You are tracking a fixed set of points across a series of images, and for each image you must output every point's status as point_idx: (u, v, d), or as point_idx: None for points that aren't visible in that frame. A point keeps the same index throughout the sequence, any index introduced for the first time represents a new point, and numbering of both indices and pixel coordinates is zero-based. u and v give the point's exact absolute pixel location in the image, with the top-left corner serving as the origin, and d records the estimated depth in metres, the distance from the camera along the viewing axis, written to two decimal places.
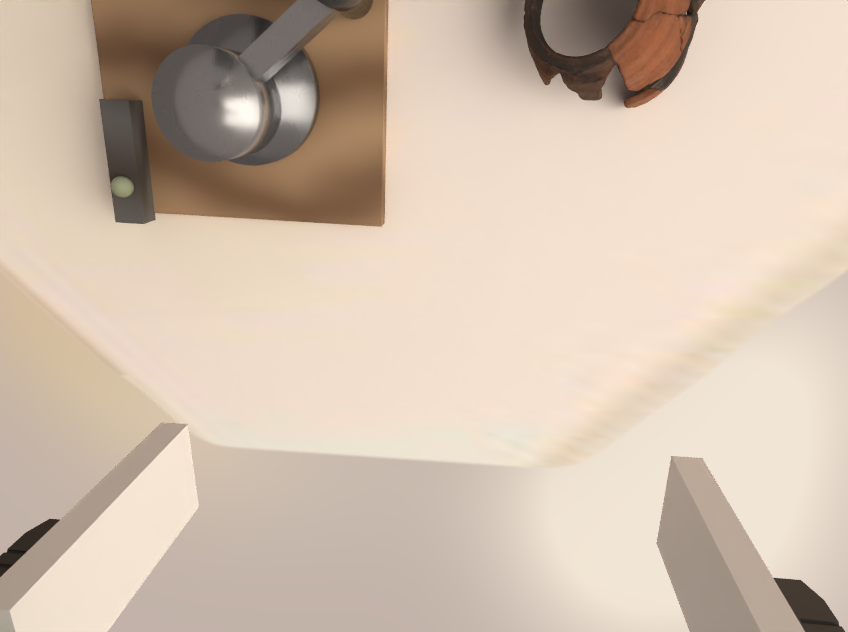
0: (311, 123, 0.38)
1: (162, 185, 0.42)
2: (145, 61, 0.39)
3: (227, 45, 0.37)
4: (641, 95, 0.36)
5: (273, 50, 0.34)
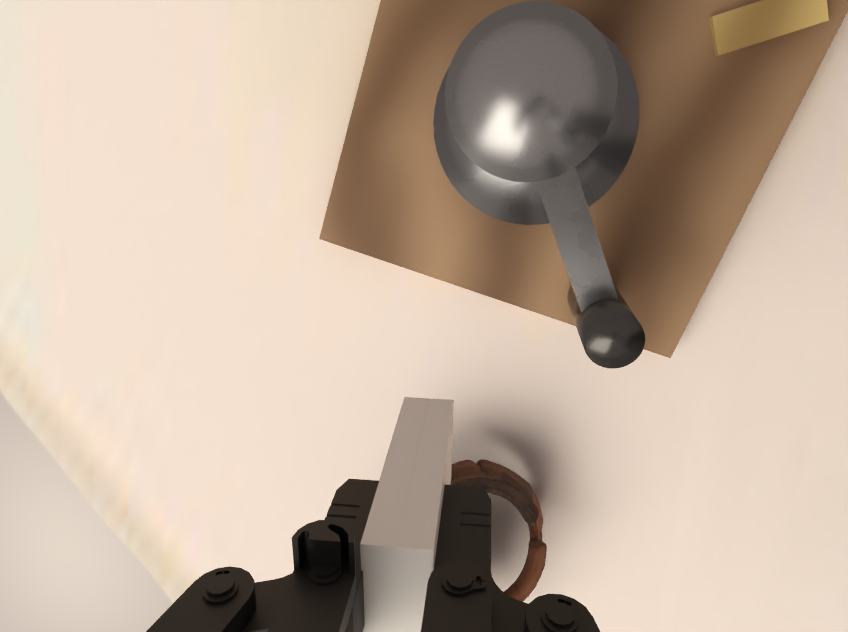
0: (467, 200, 0.28)
1: None
2: None
3: None
4: None
5: (564, 219, 0.25)
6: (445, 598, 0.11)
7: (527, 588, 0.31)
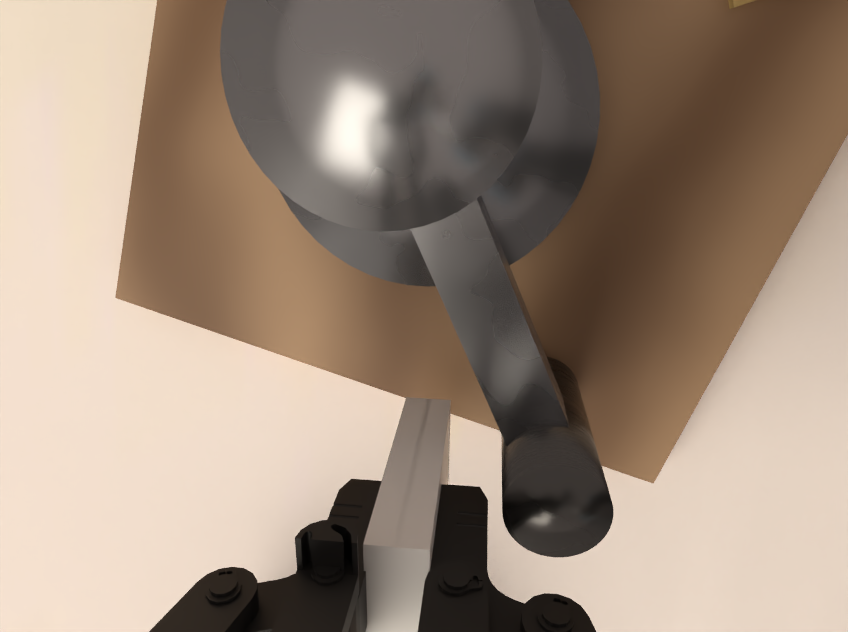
0: None
1: None
2: None
3: (535, 114, 0.16)
4: None
5: (465, 293, 0.14)
6: (442, 598, 0.11)
7: None
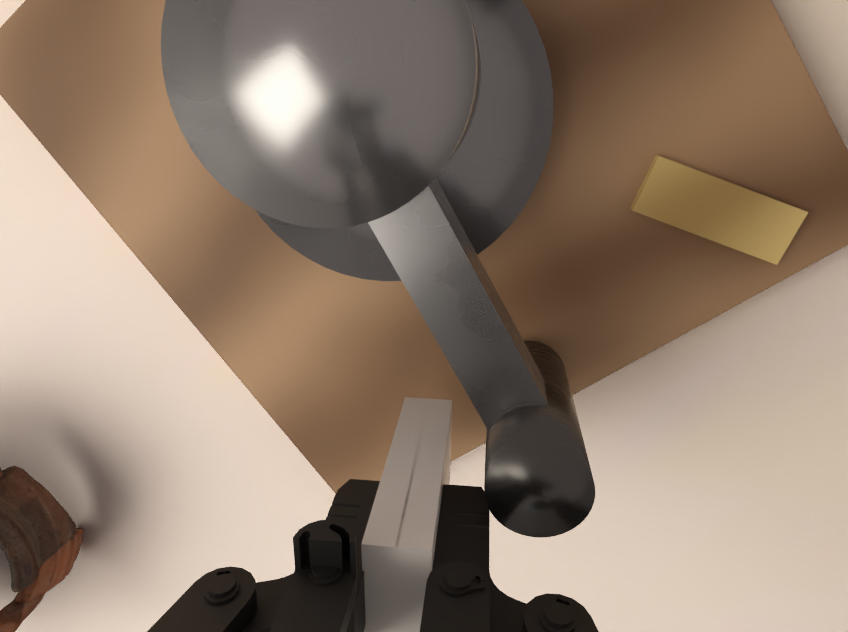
0: None
1: None
2: (612, 7, 0.16)
3: (489, 98, 0.16)
4: None
5: (429, 282, 0.14)
6: (444, 598, 0.11)
7: None
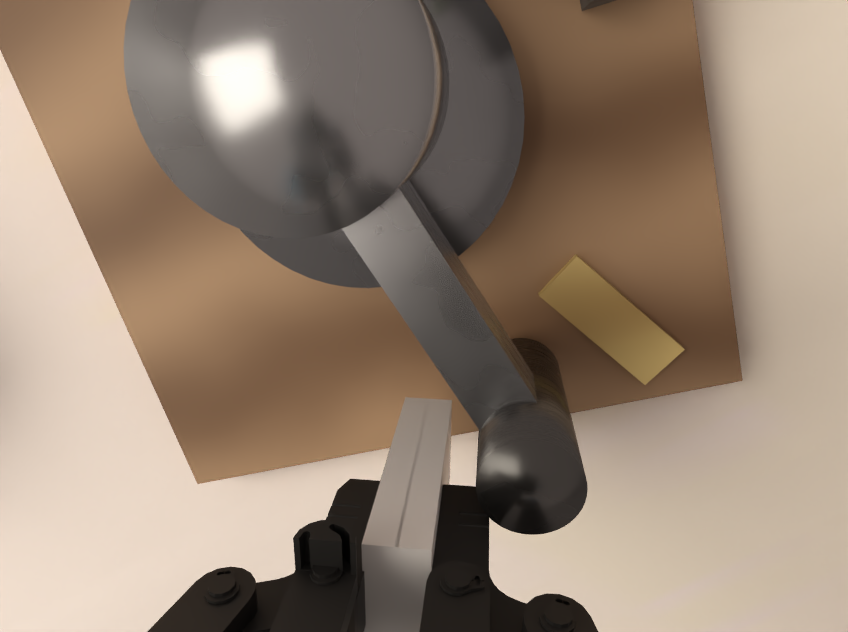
0: None
1: None
2: (580, 111, 0.17)
3: (459, 99, 0.16)
4: None
5: (408, 284, 0.14)
6: (444, 598, 0.11)
7: None
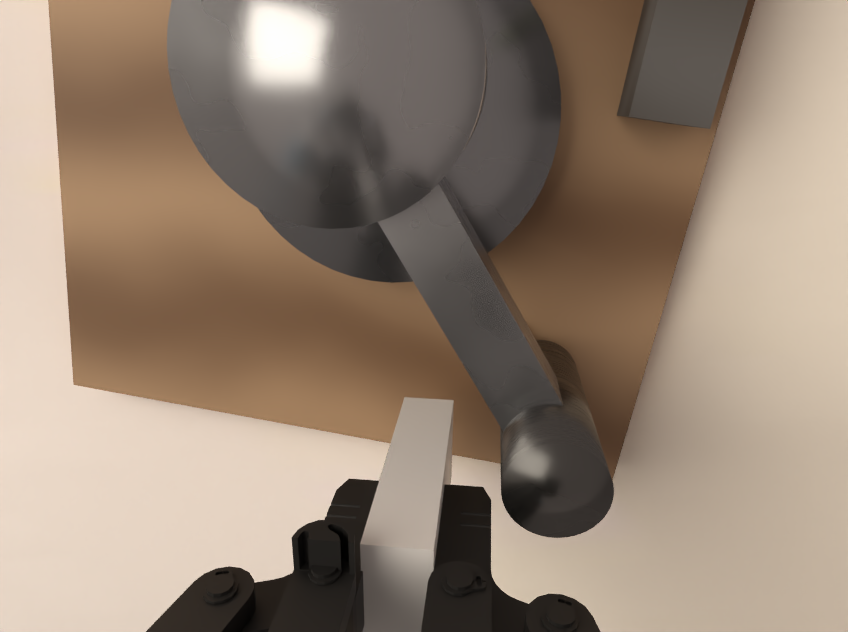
0: None
1: None
2: (577, 200, 0.17)
3: (496, 96, 0.15)
4: None
5: (441, 281, 0.14)
6: (445, 598, 0.11)
7: None
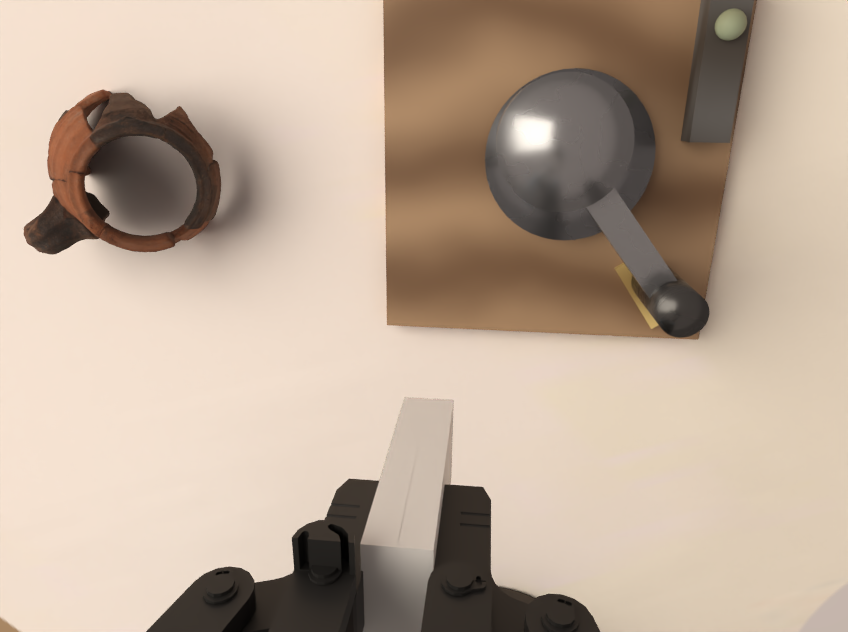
0: None
1: (681, 27, 0.31)
2: (664, 185, 0.34)
3: None
4: (88, 103, 0.35)
5: (616, 229, 0.30)
6: (445, 598, 0.11)
7: (128, 244, 0.34)
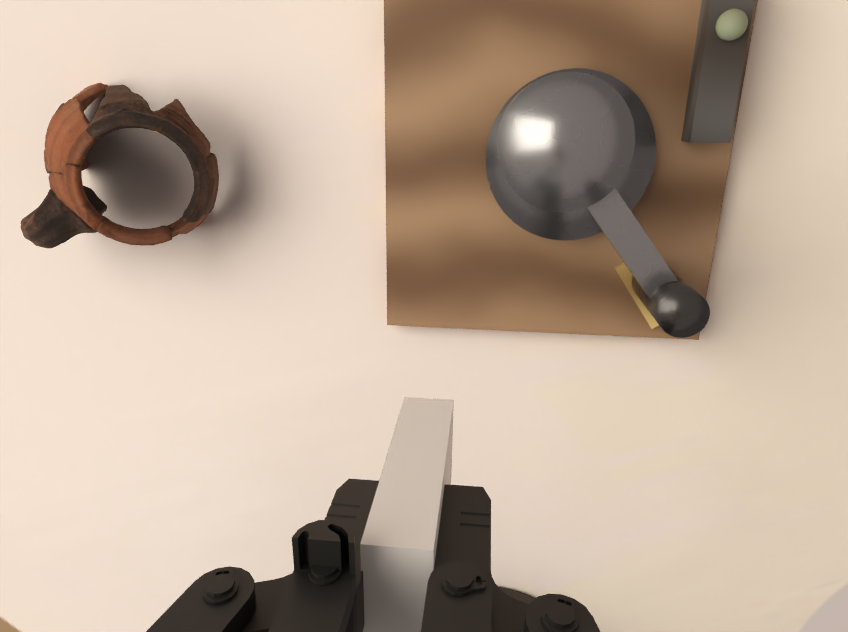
0: (530, 232, 0.34)
1: (682, 27, 0.31)
2: (665, 185, 0.34)
3: None
4: (85, 96, 0.34)
5: (616, 229, 0.30)
6: (445, 598, 0.11)
7: (125, 237, 0.33)
